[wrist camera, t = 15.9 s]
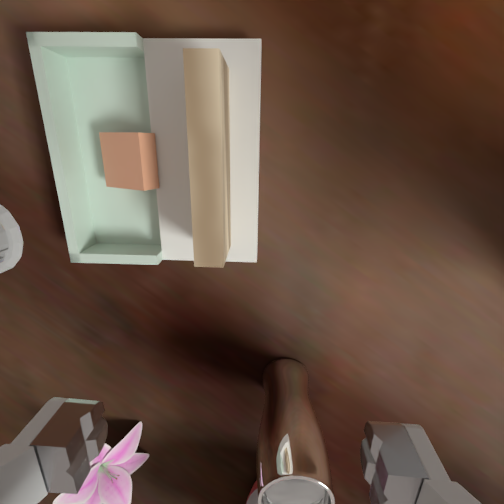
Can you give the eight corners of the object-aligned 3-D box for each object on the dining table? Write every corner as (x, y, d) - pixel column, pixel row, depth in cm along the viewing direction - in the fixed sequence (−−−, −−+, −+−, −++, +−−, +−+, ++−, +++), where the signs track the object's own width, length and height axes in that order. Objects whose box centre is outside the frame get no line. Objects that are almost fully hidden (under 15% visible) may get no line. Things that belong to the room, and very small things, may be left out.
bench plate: (261, 47, 28) (261, 38, 26) (257, 254, 35) (256, 262, 32) (152, 46, 28) (142, 38, 26) (169, 251, 35) (162, 259, 33)
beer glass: (251, 361, 40) (244, 483, 26) (304, 349, 39) (327, 468, 25) (267, 402, 42) (268, 535, 28) (317, 391, 41) (345, 523, 27)
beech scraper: (229, 68, 26) (219, 48, 21) (230, 245, 32) (223, 267, 26) (200, 68, 27) (182, 48, 21) (206, 244, 32) (194, 266, 26)
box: (152, 46, 28) (135, 32, 25) (169, 251, 35) (157, 264, 31) (57, 46, 29) (25, 31, 25) (91, 249, 35) (71, 262, 32)
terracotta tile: (154, 133, 28) (138, 132, 27) (159, 188, 30) (144, 190, 28) (116, 133, 30) (98, 132, 29) (122, 184, 32) (106, 186, 30)
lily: (138, 475, 49) (145, 531, 41) (53, 485, 44) (40, 553, 35) (155, 403, 49) (166, 445, 40) (71, 405, 44) (63, 453, 35)
